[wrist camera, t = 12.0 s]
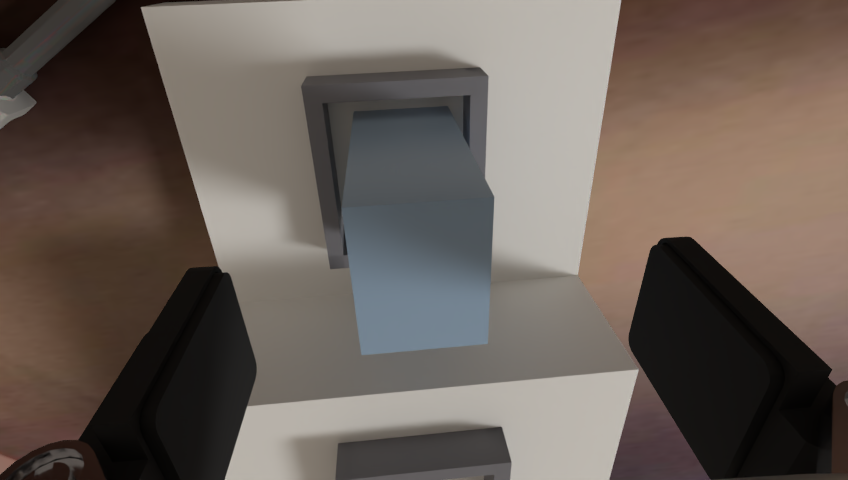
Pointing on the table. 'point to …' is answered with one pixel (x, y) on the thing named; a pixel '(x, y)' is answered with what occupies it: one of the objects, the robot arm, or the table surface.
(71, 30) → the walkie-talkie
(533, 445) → the dock
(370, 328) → the plug
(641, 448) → the table surface
